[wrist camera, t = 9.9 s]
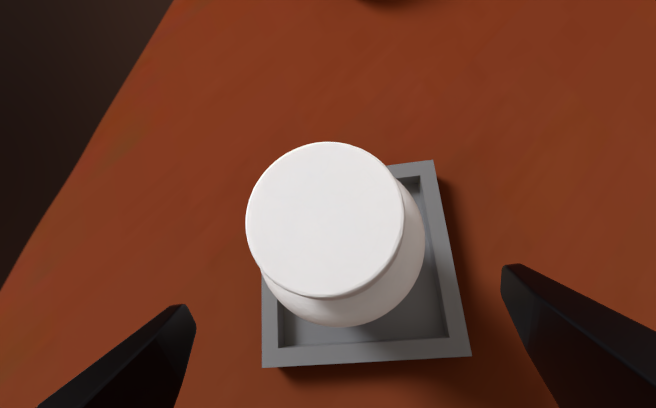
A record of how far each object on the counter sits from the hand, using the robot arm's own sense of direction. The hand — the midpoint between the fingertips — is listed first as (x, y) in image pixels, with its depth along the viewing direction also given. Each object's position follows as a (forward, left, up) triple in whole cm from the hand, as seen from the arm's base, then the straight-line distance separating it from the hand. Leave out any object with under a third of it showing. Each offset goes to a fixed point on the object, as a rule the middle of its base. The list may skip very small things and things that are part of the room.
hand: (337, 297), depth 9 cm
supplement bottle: (+2, 0, -12) cm, 13 cm away
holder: (+3, 0, -13) cm, 13 cm away
